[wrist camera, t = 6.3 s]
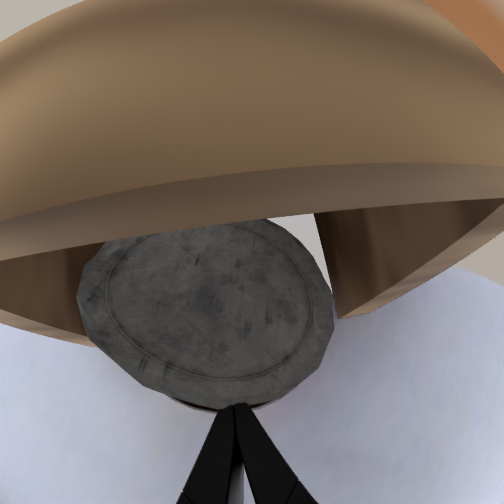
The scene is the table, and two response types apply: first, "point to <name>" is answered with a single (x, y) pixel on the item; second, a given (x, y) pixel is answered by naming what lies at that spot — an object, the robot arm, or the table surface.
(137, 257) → the canned food
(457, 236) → the walnut shelf
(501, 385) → the table surface
